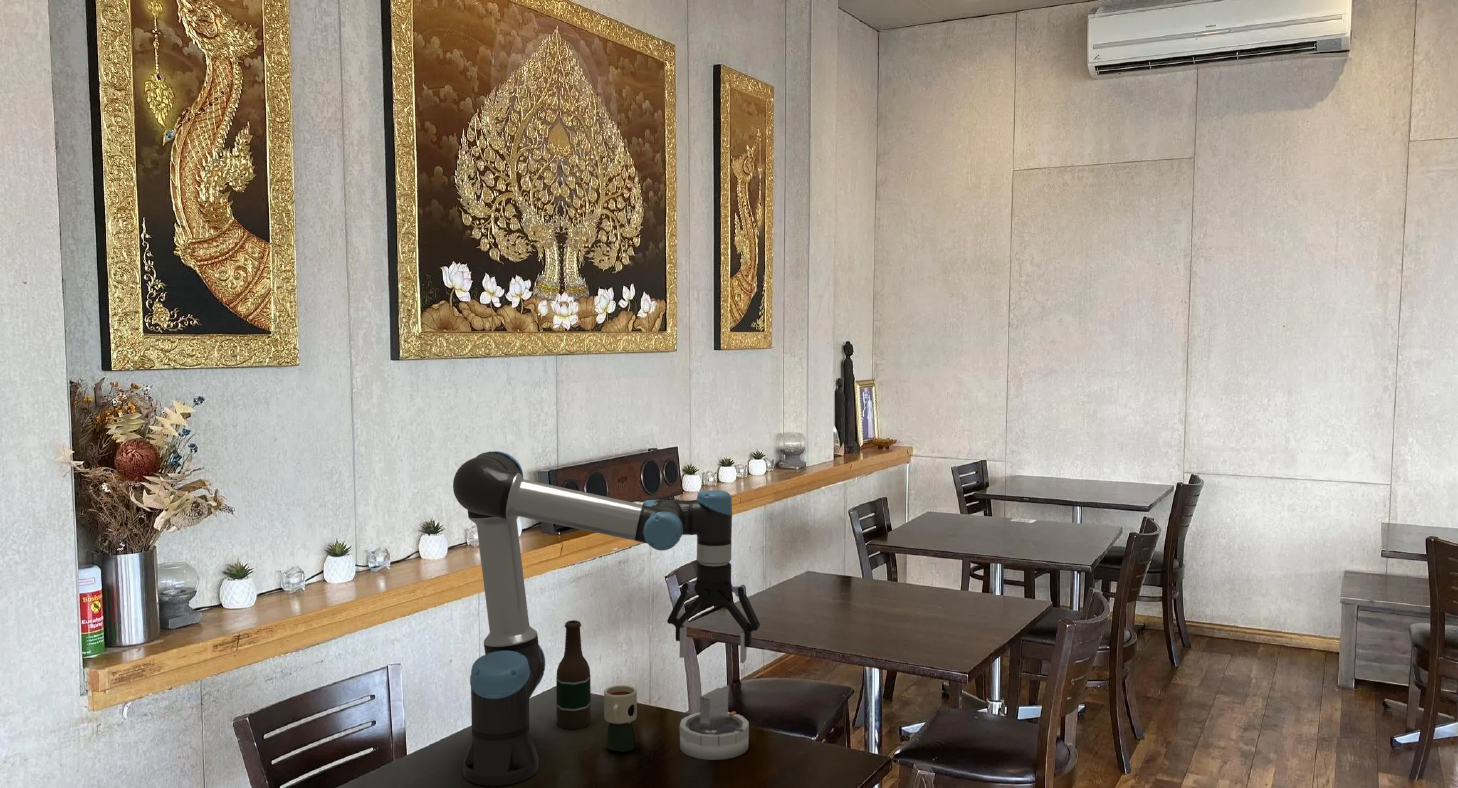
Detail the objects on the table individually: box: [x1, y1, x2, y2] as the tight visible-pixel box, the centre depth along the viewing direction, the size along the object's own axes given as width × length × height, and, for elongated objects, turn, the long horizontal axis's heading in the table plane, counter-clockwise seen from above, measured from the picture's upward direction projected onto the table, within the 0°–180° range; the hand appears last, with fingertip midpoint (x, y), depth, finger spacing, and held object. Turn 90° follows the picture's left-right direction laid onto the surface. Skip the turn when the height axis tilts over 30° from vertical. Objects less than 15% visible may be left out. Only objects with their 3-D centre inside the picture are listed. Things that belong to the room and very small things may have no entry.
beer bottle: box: [555, 619, 592, 730], centre depth 238 cm, size 8×8×24 cm
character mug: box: [603, 684, 638, 753], centre depth 224 cm, size 11×7×13 cm, turn 173°
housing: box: [679, 710, 750, 761], centre depth 226 cm, size 15×15×5 cm
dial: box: [689, 687, 739, 735], centre depth 226 cm, size 11×11×8 cm
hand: (712, 658), depth 225 cm, fingers open, 13 cm apart
